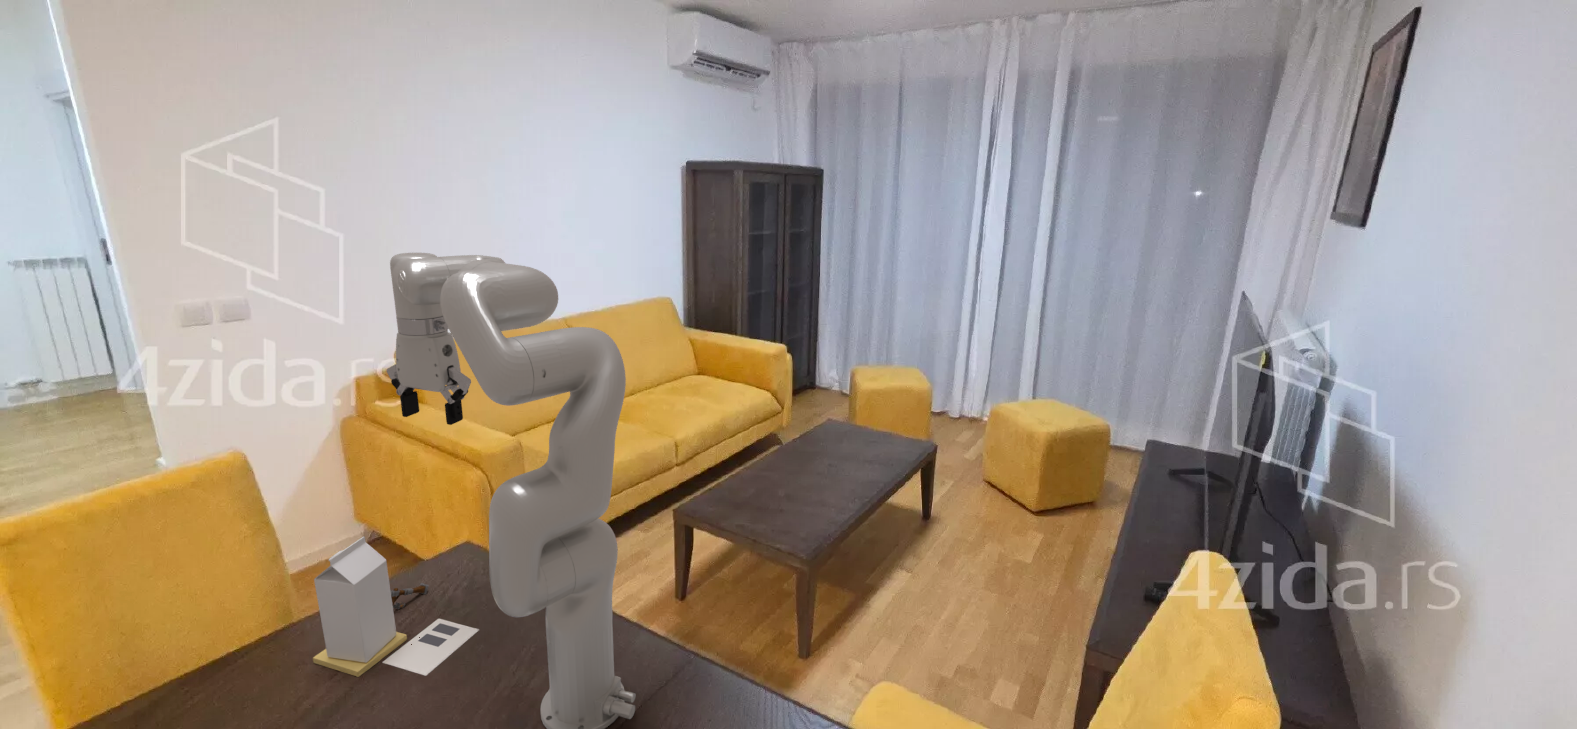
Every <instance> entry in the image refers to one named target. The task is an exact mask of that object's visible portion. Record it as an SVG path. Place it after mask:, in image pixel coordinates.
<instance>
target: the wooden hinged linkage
mask: <svg viewBox="0 0 1577 729" xmlns="http://www.w3.org/2000/svg"><path fill="white" fill-rule="evenodd" d="M429 586H430V585H429V584H425V583H423V582H421V583H419V586H416V587H413V588H411V587H409V588H402V589H399V588H398V587H395V588H393V590H391V589H390V591H391V598H392V605H393V609H397V610H400V609H403V608H404V607H405V606H406V602H404V601H400V602H397V600H398V599H399V598H400V597H401V596H408V595H413V594H421V595H426V594H428V590H429Z"/></svg>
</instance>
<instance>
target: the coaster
mask: <svg viewBox="0 0 1577 729" xmlns="http://www.w3.org/2000/svg"><path fill="white" fill-rule="evenodd" d="M407 640H408V637H407V633H406V634H405V633H401V632H398V631H396V636H395V637H394V638H393V639H392V640H391V641H390V642H388V643H387V644H386V645H385V646H384V647H383V648H382V649H381V650H380V651H379V652H378V653H377V654H376V655H374V656H373V657H372V658H371V659H370V660H369V661H368V662H367V663H365V662H358V661H351V660H344V659H338V658H331V657H328V656H327V650H326V648H325V649H323V650H321V652H319V653H317V654H316V655H314V656H313V657H312V661H313V664H316V665H319V666H323V667H326V668H329V669H332V670H335V671H339V672H341V673H345V674H348V675H351V676H355V677H357V678H358V677H361V676H362V675H363V674H365V673H366V672H367V671H368V670H370V669H371V668H372V667H374V665H376V664H377V663H379V662H380V661H381V660H382V659H384V658H385V657H387V656H388V655H389V654H390V653H391V652H394V651H395V649H397V648H398V647H399V646H400V645H402V644H403V643H405V642H406V641H407Z"/></svg>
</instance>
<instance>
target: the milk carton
mask: <svg viewBox="0 0 1577 729" xmlns="http://www.w3.org/2000/svg"><path fill="white" fill-rule="evenodd" d="M328 562H330V563H329V566H328V567H326V569H325V570H323V571H322V572H321V573H320V574H318V575H317V576H316V577H315V578H314V579H313V581H314V586H315V592H316V593H315V594H316V598H317V604H318V609H319V610H318V611H319V615H320V621H321V627H322V633H323V637H324V638H323V639H324V644H325V649H326V650H327V656H328V657H331V658H338V659H344V660H351V661H358V662H365V663H367V662H368V661H369V660H370V659H371V658H372V657H373V656H374V655H376V654H377V653H378V652H379V651H380V650H381V649H382V648H383V647H384V646H385V645H386V644H387V643H388V642H390V641H391V640H392V639H393V638H394V637H395V636H396V632H397V628H396V620H395V613H394V608H393V605H392V598H391V591H390V590H391V585H390V577H389V570H388V563H387V559H386V558H385V557H384V556H383V555H381V554H380V553H379V552H378V551H377V550H376V549H374V548H373V547H372V546H371V545H370V544H369V543H367V542H366V537H365V536H362V537H360V538H359V539H358V540H356V541H355V542H353V543H351V544H350V545H349V546H347V547H346V548H344V549H343V550H339V551H338V552H336V553H335V554H333V555H331V557H329V558H328Z"/></svg>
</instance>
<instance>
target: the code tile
mask: <svg viewBox="0 0 1577 729" xmlns="http://www.w3.org/2000/svg"><path fill="white" fill-rule="evenodd" d="M479 631H480V629H479V628H475V627H471V626H467V625H464V624H460V623H457V622H453V621H450V620H446V619H443V618H437V619H436V620H435V621H433V622H432V623H431V624H429V625H428V626H427V627H426V628H424V629H423V630H422V631H421V632H419V633H418V634H417V635H415V636H414V637H413V638H412V639H410V640H409V641H408V642H406V643H405V644H404V645H402V646H401V647H400V648H398V650H396V651H395V652H393V653H392V654H391V655H390V656H388V657H387V658H385V660H383V661H382V664H385V665H389V666H390V667H391V666H392V667H395V668H398V669H402V670H405V671H407V672H408V671H409V672H412V673H415V674H419V675H421V676H424V677H426V676H429V674H430V673H432V671H434V670H435V669H436V668H437V667H438V666H440V665H441V664H442V663H443V662H444V661H446V659H447V658H449V657H450V656H451V655H452V654H454V653H455V652H456V651H457V650H458V649H459V648H461V646H463V644H465V643H466V642H467V641H469V639H471V638H472V637H473V636H474V635H476V634H477V632H479ZM419 637H420V638H419ZM411 644H412V645H411Z"/></svg>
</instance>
